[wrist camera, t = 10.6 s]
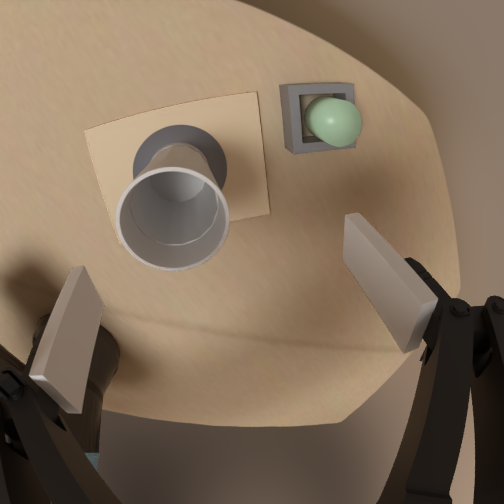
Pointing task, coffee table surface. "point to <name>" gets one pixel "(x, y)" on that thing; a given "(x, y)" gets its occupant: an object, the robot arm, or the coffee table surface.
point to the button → (333, 121)
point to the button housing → (293, 116)
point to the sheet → (192, 132)
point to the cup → (173, 211)
